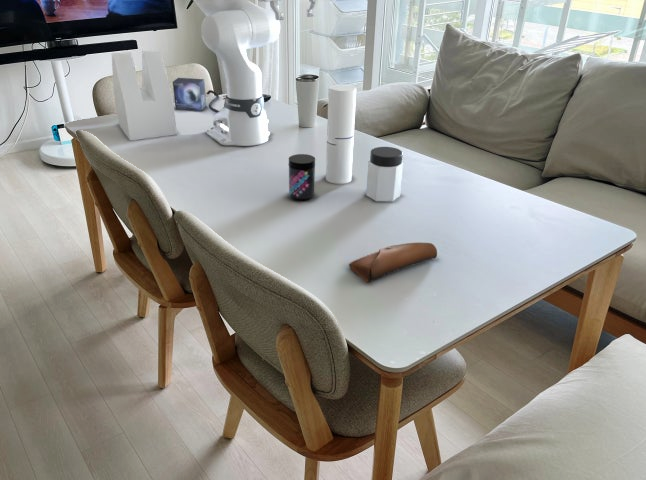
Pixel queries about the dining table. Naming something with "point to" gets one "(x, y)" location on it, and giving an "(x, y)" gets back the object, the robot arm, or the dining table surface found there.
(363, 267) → the sunglasses case
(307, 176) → the supplement container
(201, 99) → the small box
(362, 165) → the dining table surface
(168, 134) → the white notched block
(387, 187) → the jar
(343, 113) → the cylindrical container
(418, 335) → the dining table surface
